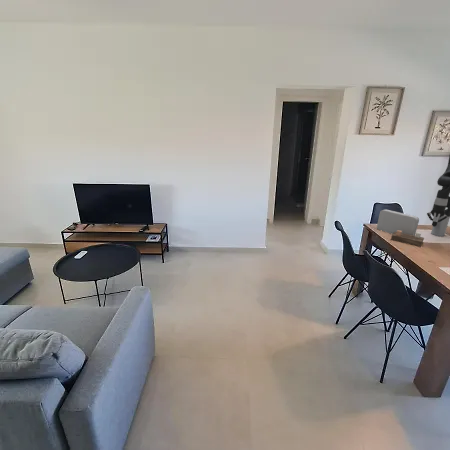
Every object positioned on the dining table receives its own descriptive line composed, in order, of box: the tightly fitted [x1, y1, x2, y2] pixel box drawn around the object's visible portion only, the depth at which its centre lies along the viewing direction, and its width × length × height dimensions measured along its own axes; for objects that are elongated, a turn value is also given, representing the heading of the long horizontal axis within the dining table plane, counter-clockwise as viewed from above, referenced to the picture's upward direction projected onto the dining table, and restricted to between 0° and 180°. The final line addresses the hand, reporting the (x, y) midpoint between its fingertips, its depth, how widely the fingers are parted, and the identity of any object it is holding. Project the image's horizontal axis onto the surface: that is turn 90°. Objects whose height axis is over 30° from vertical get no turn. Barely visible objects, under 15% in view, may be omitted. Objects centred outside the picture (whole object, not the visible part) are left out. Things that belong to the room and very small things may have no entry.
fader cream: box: [415, 231, 422, 238], centre depth 217 cm, size 3×3×4 cm
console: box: [390, 231, 425, 248], centre depth 220 cm, size 12×20×4 cm, turn 49°
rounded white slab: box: [376, 209, 420, 236], centre depth 235 cm, size 29×8×18 cm, turn 36°
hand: (433, 226), depth 209 cm, fingers closed
